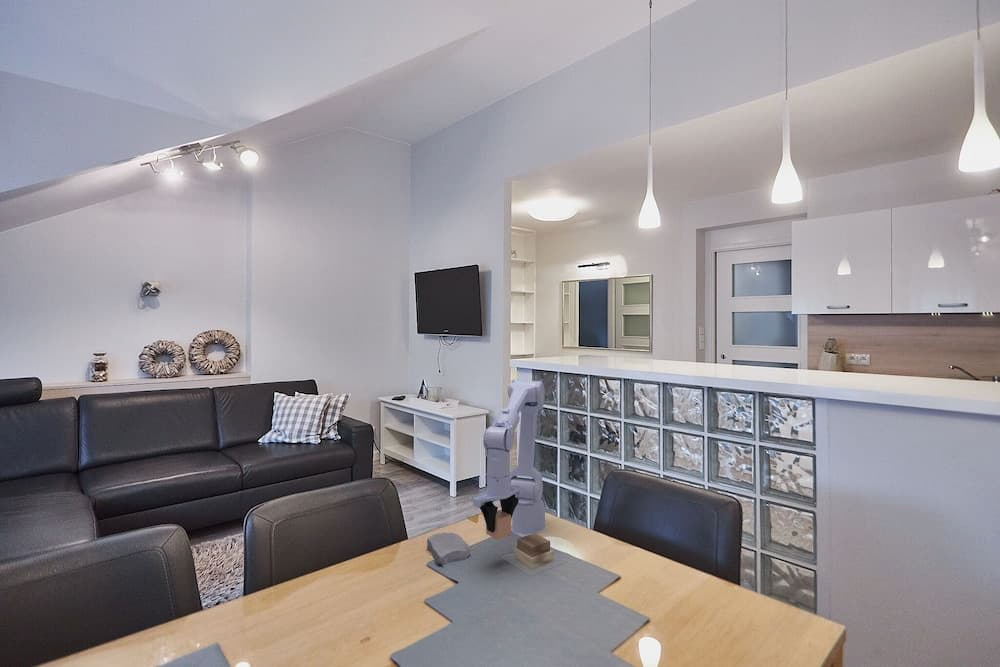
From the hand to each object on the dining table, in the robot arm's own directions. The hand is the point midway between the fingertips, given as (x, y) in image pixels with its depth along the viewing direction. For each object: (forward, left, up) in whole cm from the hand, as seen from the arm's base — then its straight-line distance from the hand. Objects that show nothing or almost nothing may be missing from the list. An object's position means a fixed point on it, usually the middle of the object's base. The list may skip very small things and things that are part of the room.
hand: (498, 528), depth 124 cm
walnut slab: (-8, +4, -6) cm, 11 cm away
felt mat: (-8, +4, -9) cm, 13 cm away
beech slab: (-8, +4, -9) cm, 13 cm away
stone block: (+7, -13, -10) cm, 17 cm away
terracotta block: (0, 0, -2) cm, 2 cm away
